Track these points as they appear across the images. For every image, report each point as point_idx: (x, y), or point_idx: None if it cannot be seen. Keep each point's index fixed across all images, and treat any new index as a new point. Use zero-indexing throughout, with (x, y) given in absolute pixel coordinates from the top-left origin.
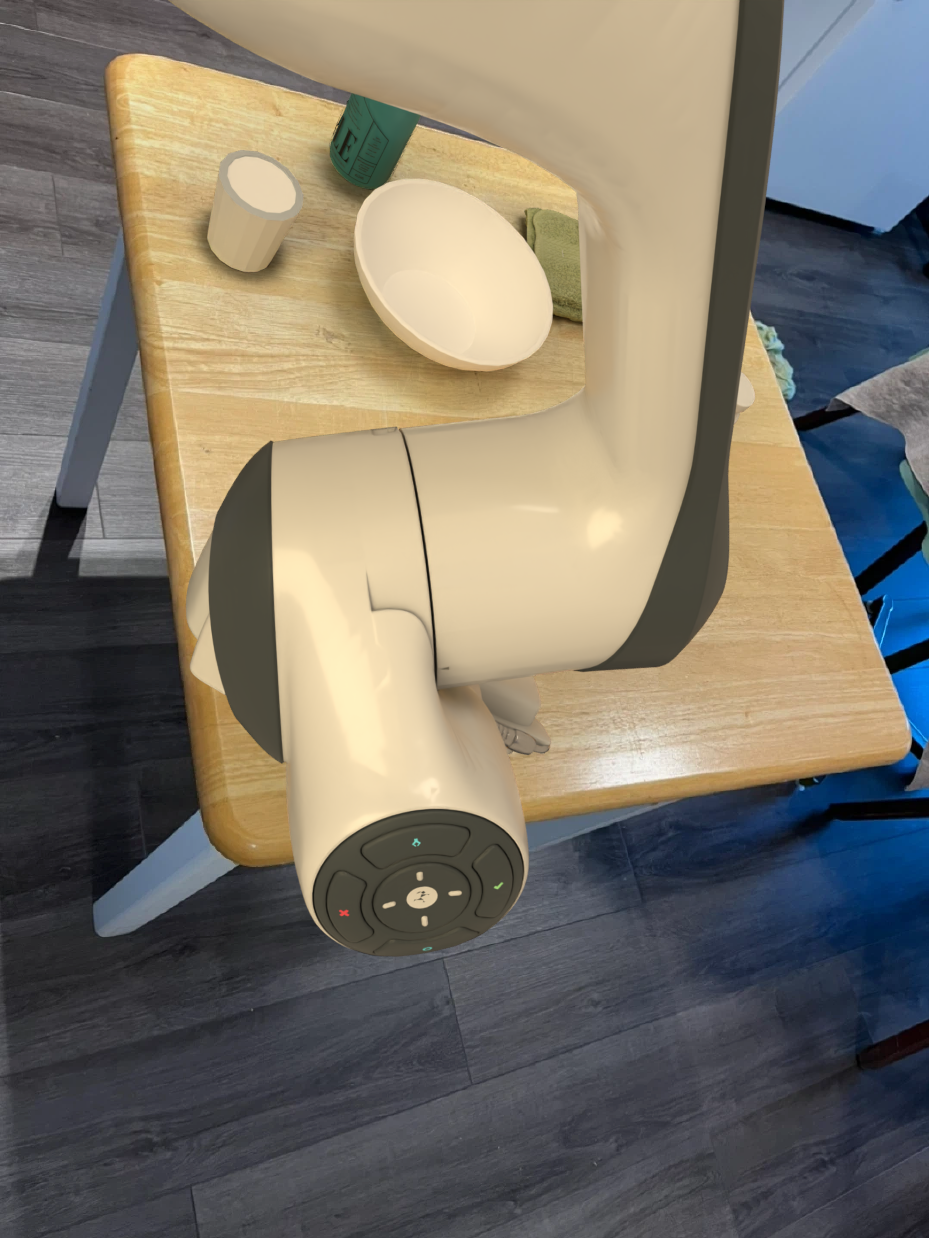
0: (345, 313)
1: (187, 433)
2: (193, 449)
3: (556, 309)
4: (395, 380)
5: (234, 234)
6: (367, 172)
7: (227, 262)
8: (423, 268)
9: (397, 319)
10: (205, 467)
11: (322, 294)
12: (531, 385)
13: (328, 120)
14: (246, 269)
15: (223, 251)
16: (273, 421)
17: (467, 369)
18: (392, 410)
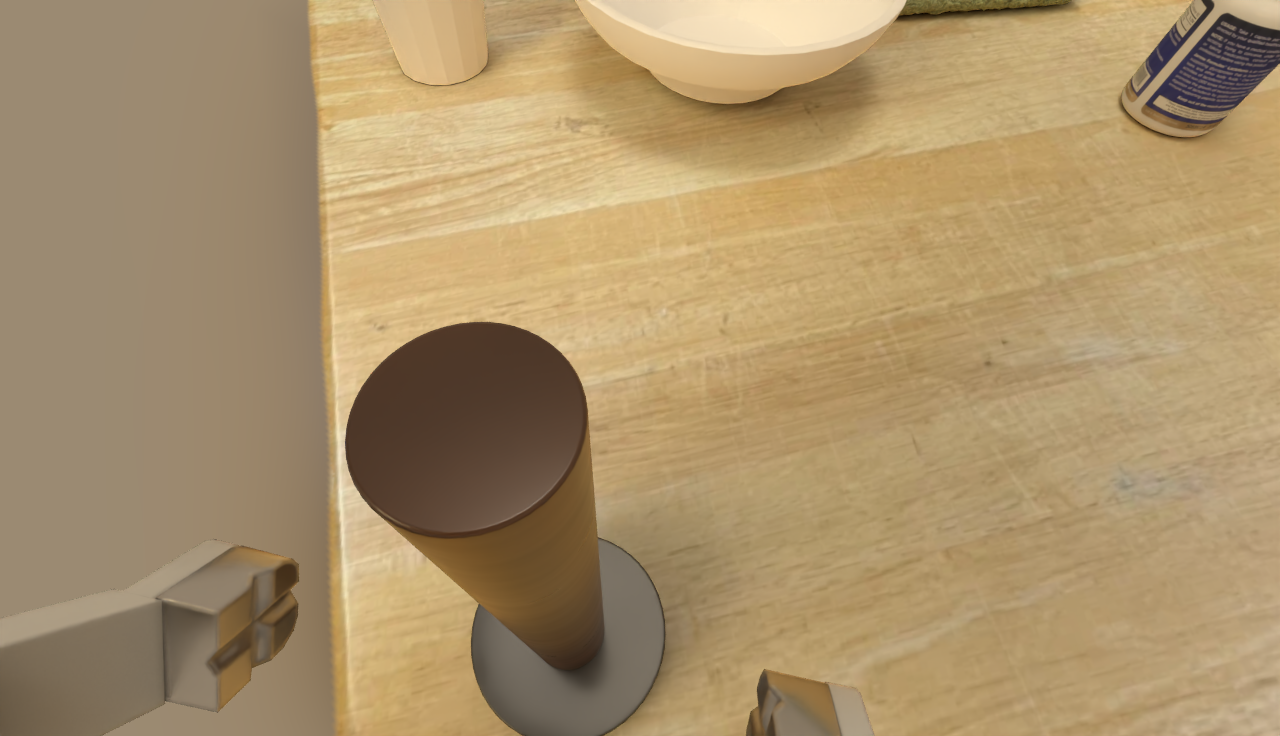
0: (596, 92)
1: (349, 309)
2: (357, 330)
3: (906, 2)
4: (684, 152)
5: (401, 24)
6: None
7: (423, 79)
8: (698, 11)
9: (641, 30)
10: (375, 354)
11: (561, 80)
12: (901, 103)
13: None
14: (449, 79)
15: (409, 63)
16: (492, 255)
17: (784, 77)
18: (686, 191)
